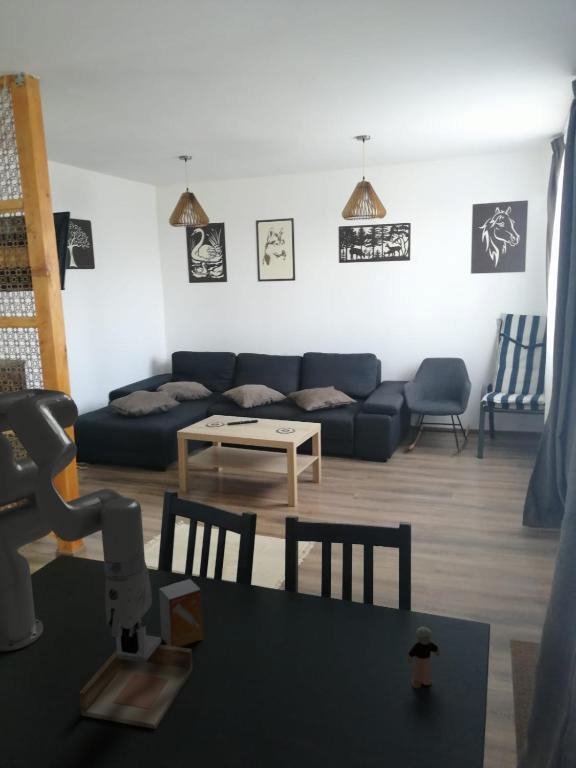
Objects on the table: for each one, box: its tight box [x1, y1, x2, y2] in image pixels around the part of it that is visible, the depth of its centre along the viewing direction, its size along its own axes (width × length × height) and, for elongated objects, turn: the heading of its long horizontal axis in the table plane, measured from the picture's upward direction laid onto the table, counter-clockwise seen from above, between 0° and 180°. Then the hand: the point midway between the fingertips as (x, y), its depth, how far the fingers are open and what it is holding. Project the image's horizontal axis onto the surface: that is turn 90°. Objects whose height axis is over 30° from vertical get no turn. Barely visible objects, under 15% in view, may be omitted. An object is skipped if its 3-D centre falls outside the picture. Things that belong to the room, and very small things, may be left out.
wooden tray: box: [78, 643, 194, 730], centre depth 126 cm, size 16×18×5 cm
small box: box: [158, 578, 203, 648], centre depth 143 cm, size 8×6×13 cm
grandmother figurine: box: [405, 626, 441, 689], centre depth 126 cm, size 8×4×13 cm, turn 117°
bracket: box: [115, 625, 162, 662], centre depth 122 cm, size 7×6×7 cm
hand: (131, 649), depth 120 cm, fingers closed on bracket, 1 cm apart
